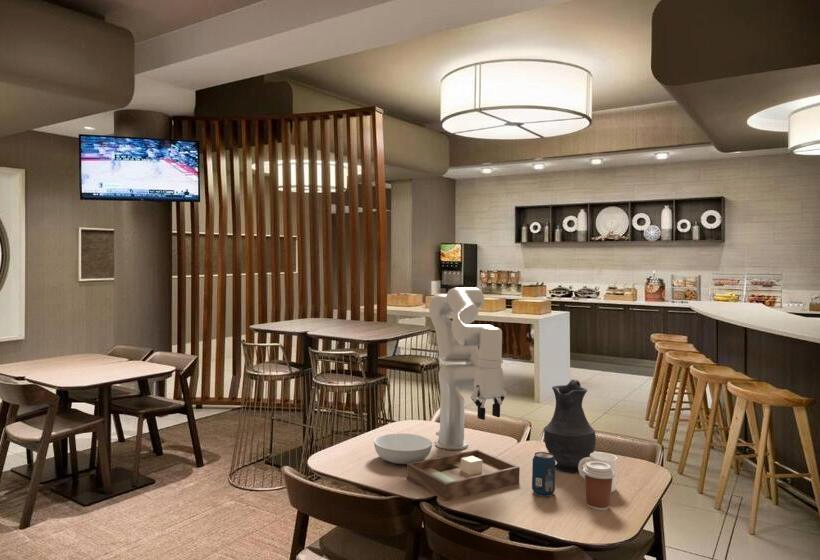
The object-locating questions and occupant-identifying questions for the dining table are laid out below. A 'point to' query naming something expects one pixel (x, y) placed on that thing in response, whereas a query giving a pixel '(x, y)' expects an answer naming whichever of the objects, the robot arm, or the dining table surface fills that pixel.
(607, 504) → the coffee cup
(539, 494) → the soda can
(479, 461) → the block
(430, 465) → the trap box
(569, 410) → the pitcher
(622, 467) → the dining table surface
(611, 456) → the mug
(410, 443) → the serving bowl
